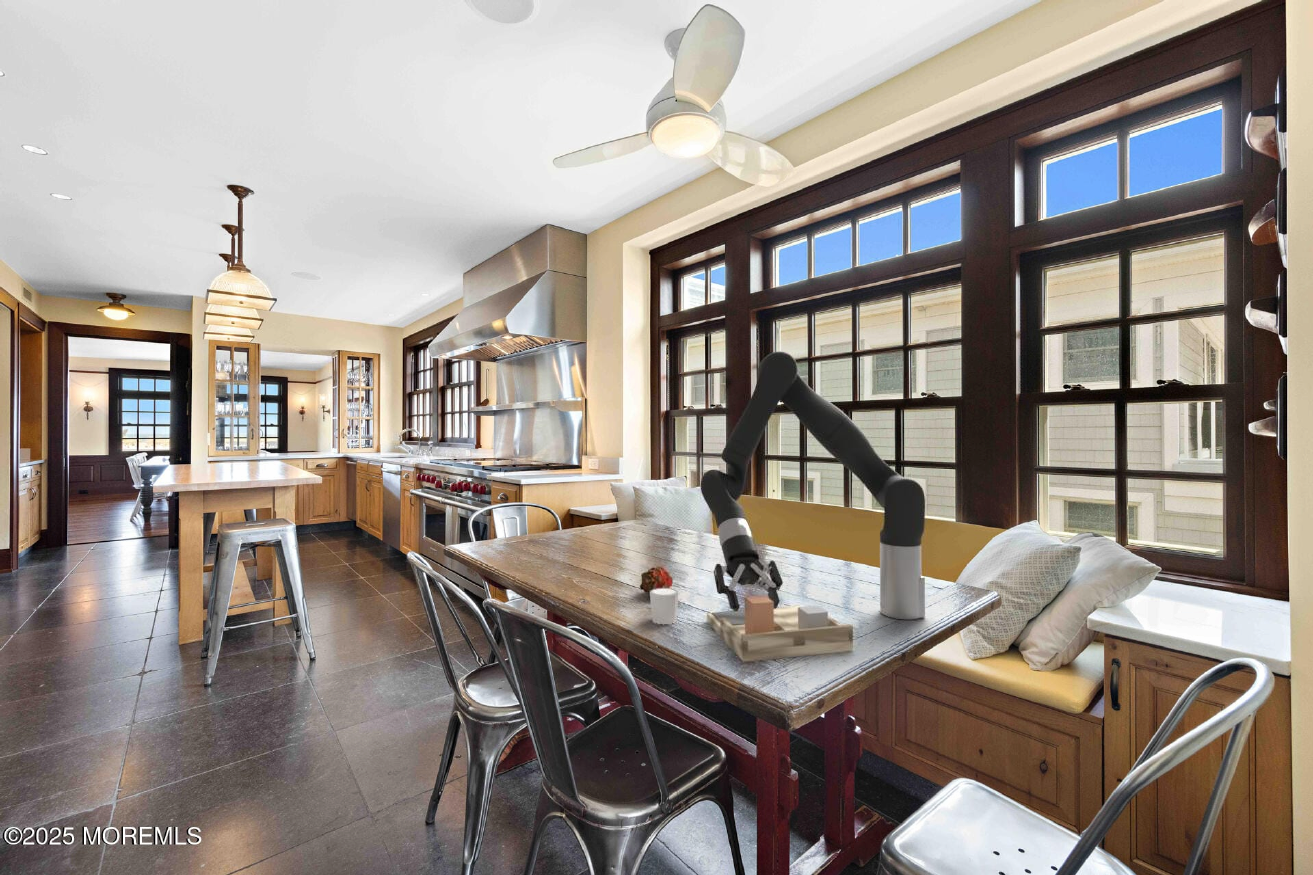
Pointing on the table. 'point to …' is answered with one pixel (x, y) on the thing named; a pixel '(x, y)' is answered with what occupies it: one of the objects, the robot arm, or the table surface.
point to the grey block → (812, 617)
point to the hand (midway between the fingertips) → (756, 608)
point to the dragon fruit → (655, 579)
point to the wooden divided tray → (780, 636)
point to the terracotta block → (759, 614)
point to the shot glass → (664, 605)
